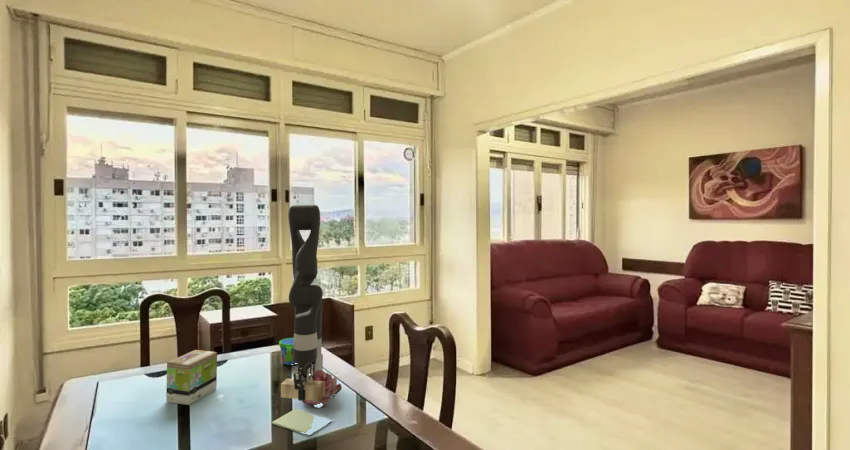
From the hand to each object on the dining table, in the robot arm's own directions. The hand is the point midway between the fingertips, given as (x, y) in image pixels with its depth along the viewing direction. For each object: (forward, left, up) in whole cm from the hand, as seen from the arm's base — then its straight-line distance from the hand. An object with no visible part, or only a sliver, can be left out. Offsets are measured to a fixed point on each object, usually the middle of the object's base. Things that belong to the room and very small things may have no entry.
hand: (304, 396), depth 150 cm
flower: (-16, -7, -9) cm, 20 cm away
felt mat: (0, -1, -9) cm, 9 cm away
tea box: (+4, -50, -9) cm, 51 cm away
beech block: (+2, -7, +2) cm, 8 cm away
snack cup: (-39, -42, -9) cm, 58 cm away
